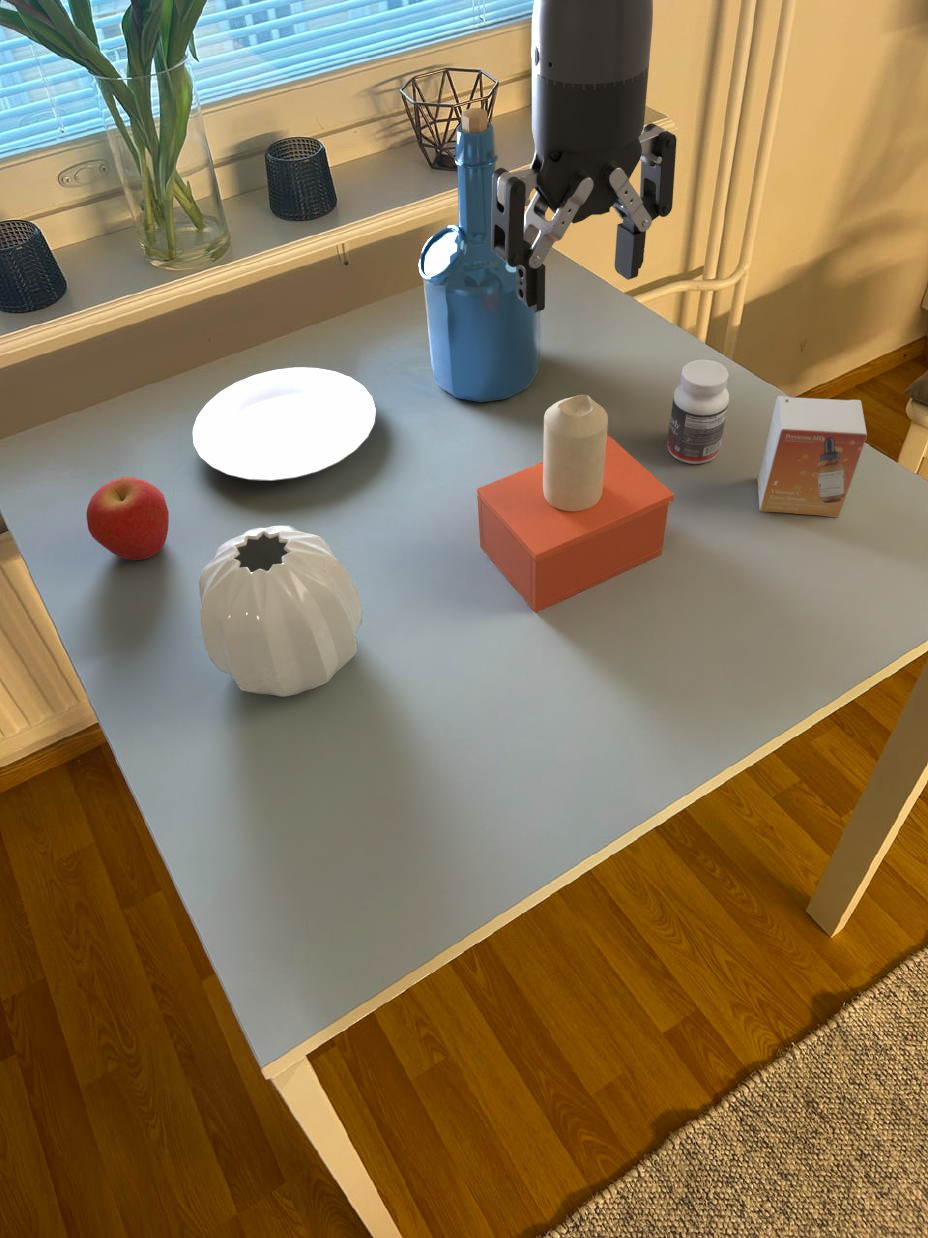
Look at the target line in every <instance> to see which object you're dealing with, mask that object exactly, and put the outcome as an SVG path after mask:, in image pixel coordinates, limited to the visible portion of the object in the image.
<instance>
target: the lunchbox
mask: <svg viewBox="0 0 928 1238" xmlns="http://www.w3.org/2000/svg"><path fill="white" fill-rule="evenodd" d="M476 497H477V498H476V499H477V514H478V531H479V533H478V535H479V547H480V548H481V550H483V552H484V553H485V554H486V555H487V557H488V558H489V559H490V560H491V561H492V562H493V563H494V565H495V566H496V567H497V569H498V570H499V571H500V572H501V573H502V574H503V576H504V577H505V578H506V579H507V580H508V581H509V582H510V584H511V586H512V587H514V589H515V590H516V591H517V593H518V594H519V595H520V596H521V597H522V598H523V599H524V601H525V602H526V603H527V605H529V607H530V608H531V609H532V610H533V612H534V613H539V612H540V611H543V610H545V609H548V608H549V607H551V606H554V605H555V604H558V603H561V602H562V601H564V600H566V599H569V598H570V597H573V596H575V595H577V594H580V593H582V592H584V591H586V590H588V589H590V588H593V587H594V586H597V585H598V584H601V583H603V582H605V581H607V580H610V579H611V578H614V577H616V576H618V575H620V574H622V573H625V572H627V571H629V570H631V569H633V568H636V567H638V566H640V565H642V564H644V563H646V562H648V561H650V560H653V559H655V558H657V557H659V556H661V555H662V554H663V547H664V546H663V545H664V540H665V532H666V526H667V525H666V524H667V518H668V511H669V504H670V502H669V503H667V504H664V505H662V506H660V507H658V508H655V509H653V510H651V511H649V512H646V513H644V514H642V515H640V516H637V517H635V518H633V519H630V520H628V521H626V522H624V523H621V524H619V525H617V526H615V527H612V528H610V529H608V530H606V531H603V532H601V533H599V534H597V535H594V536H592V537H590V538H588V539H585V540H583V541H581V542H578V543H576V544H574V545H572V546H569V547H567V548H565V549H563V550H560V551H558V552H556V553H554V554H551V555H549V556H547V557H545V558H542V559H540V560H538V561H535V560H534V559H533V557H532V556H531V555H530V554H529V553H528V552H527V551H526V549H525V548H524V547H523V546H522V545H521V544H520V543H519V542H518V540H517V539H516V538H515V537H514V536H513V535H512V534H511V532H510V531H509V530H508V529H507V528H506V527H505V526H504V525H503V523H502V522H501V521H500V520H499V519H498V518H497V517H496V515H495V514H494V513H493V512H492V511H491V510H490V509H489V508H488V506H487V505H486V504H485V503H484V502H483V501H482V500H481V498H480V497H479V496H478V495H477V496H476Z"/></svg>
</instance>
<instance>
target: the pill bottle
mask: <svg viewBox="0 0 928 1238" xmlns="http://www.w3.org/2000/svg"><path fill="white" fill-rule="evenodd" d="M680 373H681V374H680V379H679V381H680V383H679V384H678V385H677V386H676V388H675V390H674V392H673V396H672V404H671V410H670V411H671V412H670V418H669V426H668V434H667V441H666V443H667V444H666V447H667V450H668V452H669V454H670V455H671V456H672V457H673V458H674V459H676V460H678V461H680V462H682V463H685V464H692V465H698V464H700V465H701V464H705V463H708V462H710V461H712V460H714V459H715V458H716V457H717V456H718V454H719V453H720V450H721V446H722V445H721V444H722V440H723V435H724V430H725V424H726V419H727V414H728V408H729V403H730V393H729V391H728V389H727V386H728V380H729V370H728V369H727V367H726V366H724V364H722V363H720V362H718V361H715V360H712V359H694V360H692V361H689V362H688V363H685V365H683V367H682V370H681V372H680Z"/></svg>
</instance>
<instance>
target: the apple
mask: <svg viewBox="0 0 928 1238" xmlns="http://www.w3.org/2000/svg"><path fill="white" fill-rule="evenodd" d="M86 507H87V508H86V513H85V514H86V524H87V530H88V532H89V534H90V535H91V537H92V538H93V539H94V540H95V541H96V542H97V543H98V544H99V545H100V546H102V547H104V548H105V549H106V550H107V551H109V552H111V553H112V554H113V555H115V556H118V557H119V558H122V559H125V560H128V561H141V560H145V559H150V558H152V557H153V556H155V555H157V554H159V552H160V551H161V550H162V548H163V547H164V546H165V544H166V540H167V537H168V531H169V523H170V522H169V521H170V520H169V519H170V518H169V517H170V516H169V509H168V505H167V501H166V498H165V494H164V493H163V492H162V491H161V490H160V489H159V488H158V487H156V485H154V484H152V483H150V482H149V481H147V480H143V479H140V478H137V477H132V476H131V477H129V476H127V477H126V476H125V477H124V476H123V477H122V476H121V477H119V478H117V479H114V480H111V481H109V482H108V483H105V484H104V485H102V486H101V487H100V488H99V489H98V490H97V491H96V492H95V493H94V494H92V496H91V497H90V499H89V502H88V504H87V506H86Z"/></svg>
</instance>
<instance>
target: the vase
mask: <svg viewBox="0 0 928 1238" xmlns="http://www.w3.org/2000/svg"><path fill="white" fill-rule="evenodd" d="M198 593H199V600H200V625H201V626H200V627H201V632H202V639H203V643H204V648H205V651H206V654H207V657H208V658H209V660H210V661H211V663H212V665H214V667H215V668H216V669H217V670H219V671H221V672H222V673H225V674H226V675H229V676H230V677H232V678H233V680H234V682H235V683H236V686H237V687H238V688H239V690H241V691H242V692H248V693H253V694H260V695H268V696H269V695H271V696H277V697H284V698H285V697H290V696H295V695H299V694H301V693H304V692H306V691H310V690H314V689H317V688H318V687H320V686H322V685H325V684H327V683H328V682H330V681H331V680H332V678H333V677H334V675H335V674H337V673H338V672H339V671H340V670H341V669H342V668H343V667H345V665H347V663H349V662H350V660H351V659H352V658H353V657H355V655H356V654H357V652H358V649H357V647H358V646H357V645H358V643H357V638H356V636H357V634H358V631H359V629H360V627H361V625H362V621H363V607H362V602H361V599H360V596H359V593H358V591H357V589H356V587H355V585H354V582H353V581H352V579H351V576H350V575H349V573H348V572H347V570H346V569H345V567H344V566H343V565H342V564H341V563H340V561H339V560H338V559H337V558H336V556H335V554H334V552H333V550H332V549H331V547H330V546H329V544H328V542H327V541H326V540H324V539H323V538H322V537H321V536H320V535H318V534H314V533H308V532H304V531H300V530H298V529H297V528H295V527H294V526H292V525H273V526H272V525H271V526H268V527H254V528H251V529H249V530H246V531H245V532H244V533H242V534H241V535H238V536H235V537H233V538H231V539H229V540H227V541H226V542H223V543H222V544H221V545H219V547H218V548H217V550H216V552H215V554H214V558H213V559H212V560H210V561H209V563H207V565H205V566H204V567H203V568H202V569H201V573H200V576H199V580H198Z"/></svg>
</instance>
